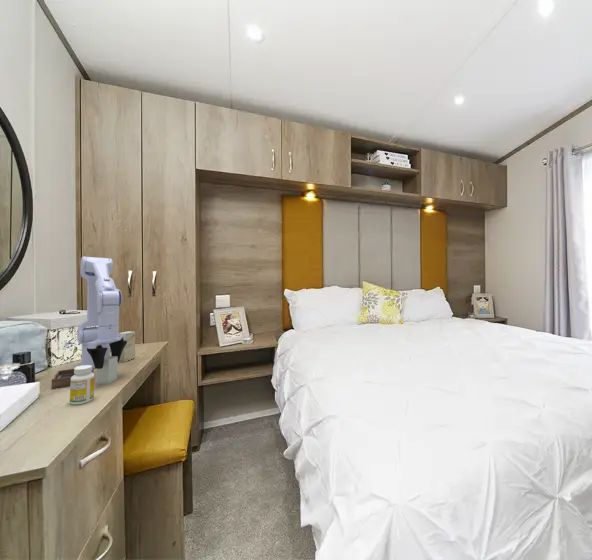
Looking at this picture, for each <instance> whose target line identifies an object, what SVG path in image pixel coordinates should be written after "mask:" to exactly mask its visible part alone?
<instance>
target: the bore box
mask: <svg viewBox="0 0 592 560" xmlns="http://www.w3.org/2000/svg"><path fill="white" fill-rule="evenodd" d="M94 371H95V368H94V366H92V371H91V372H92V373H94V374H95V372H94ZM73 375H75V374H74V368H70V369H69V368H68V369H62V370H56V372H55V374H54V375H53V378H52V379H51V390H55V389H56V388H57V389H61V387H63V388H68V387H67V386H69V387H70V383H71V377H72V376H73Z"/></svg>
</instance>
